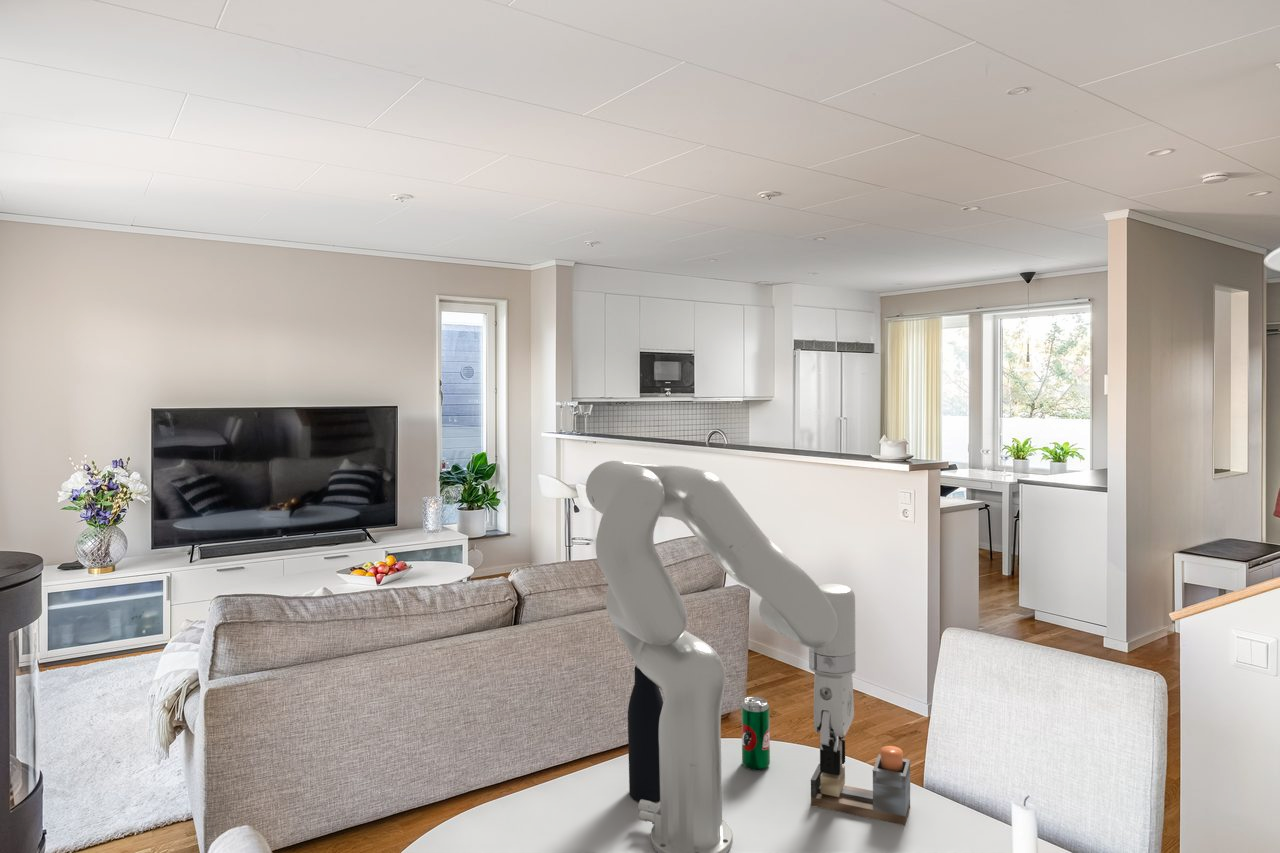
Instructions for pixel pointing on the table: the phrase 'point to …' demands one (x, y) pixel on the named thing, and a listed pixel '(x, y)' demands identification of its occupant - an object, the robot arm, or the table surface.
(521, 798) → the table surface
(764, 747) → the soda can
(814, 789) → the stand
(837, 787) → the carriage
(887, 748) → the button
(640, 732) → the wine bottle
